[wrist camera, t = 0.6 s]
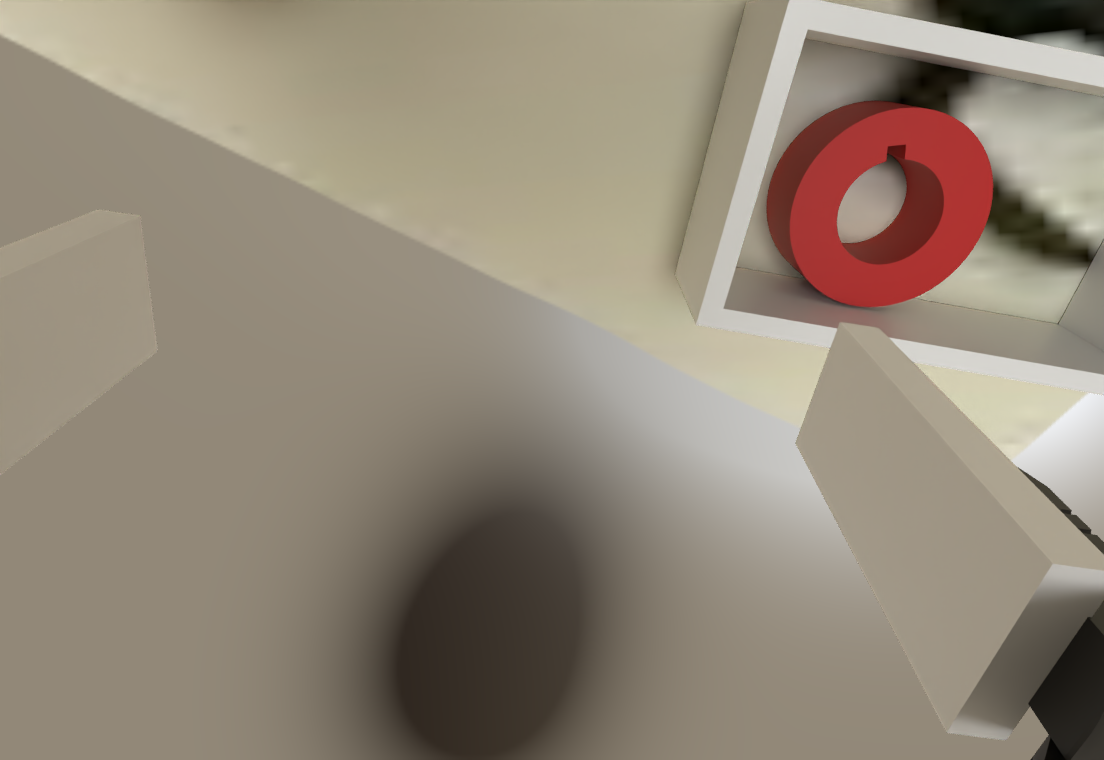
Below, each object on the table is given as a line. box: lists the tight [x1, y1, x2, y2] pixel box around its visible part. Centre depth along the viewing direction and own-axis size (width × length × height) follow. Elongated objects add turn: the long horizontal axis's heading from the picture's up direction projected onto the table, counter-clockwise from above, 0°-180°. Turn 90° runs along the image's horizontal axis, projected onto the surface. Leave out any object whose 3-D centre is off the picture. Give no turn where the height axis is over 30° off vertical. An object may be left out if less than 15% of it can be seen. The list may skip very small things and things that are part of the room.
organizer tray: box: [675, 0, 1104, 395], centre depth 33 cm, size 14×23×8 cm, turn 80°
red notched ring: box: [767, 101, 993, 307], centre depth 34 cm, size 18×9×7 cm, turn 6°
